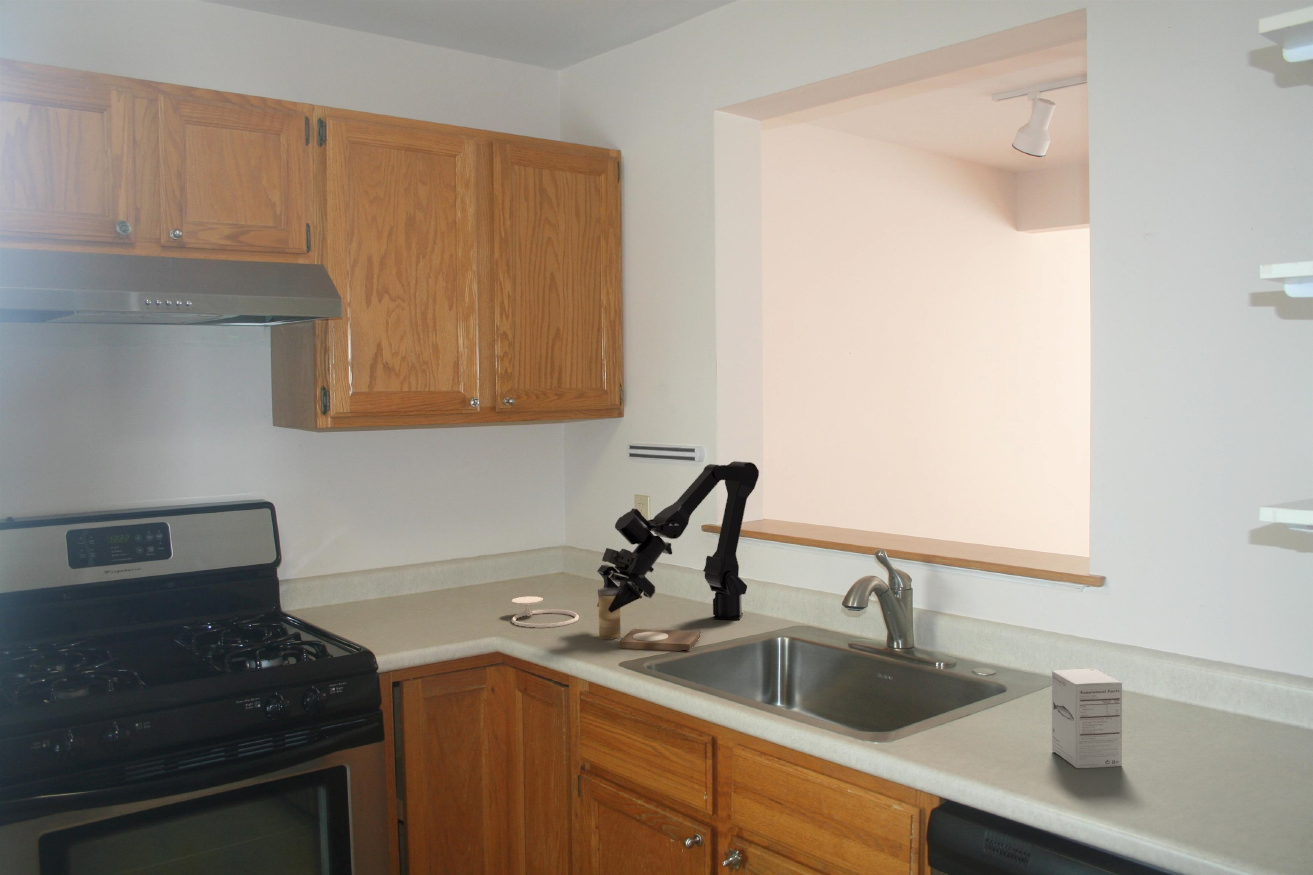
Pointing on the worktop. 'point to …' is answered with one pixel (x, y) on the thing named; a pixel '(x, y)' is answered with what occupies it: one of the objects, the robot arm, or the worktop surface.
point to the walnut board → (659, 639)
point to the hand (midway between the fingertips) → (604, 609)
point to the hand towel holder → (534, 600)
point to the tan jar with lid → (608, 614)
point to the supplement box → (1087, 718)
